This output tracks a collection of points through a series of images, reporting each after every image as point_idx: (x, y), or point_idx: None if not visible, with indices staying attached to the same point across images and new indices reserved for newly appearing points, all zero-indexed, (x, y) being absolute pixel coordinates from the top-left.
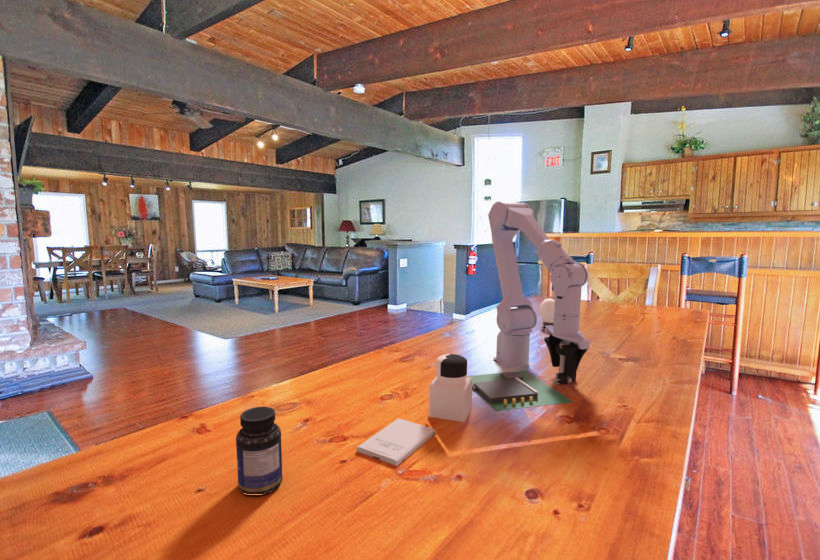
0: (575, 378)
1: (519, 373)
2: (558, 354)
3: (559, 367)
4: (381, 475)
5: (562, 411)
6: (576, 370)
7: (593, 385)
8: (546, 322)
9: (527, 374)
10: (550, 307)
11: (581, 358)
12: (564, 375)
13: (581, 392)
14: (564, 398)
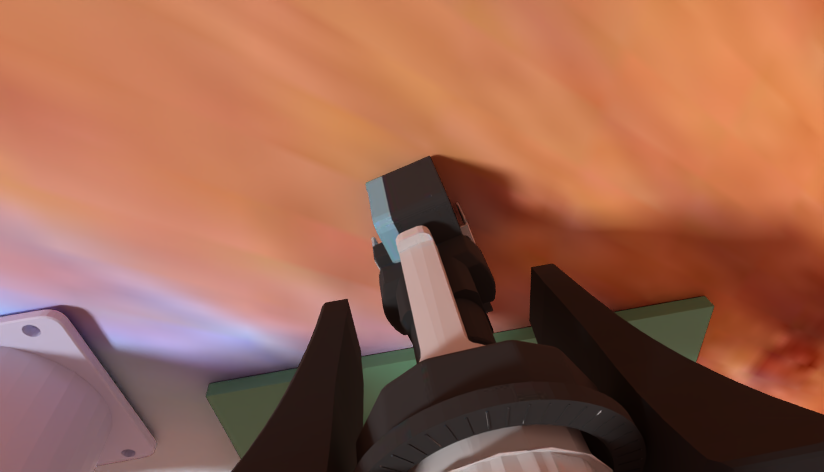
0: (438, 175)
1: (262, 427)
2: (350, 417)
3: (404, 334)
4: None
5: (730, 356)
6: (571, 281)
7: (497, 22)
8: None
9: (280, 397)
10: None
11: (675, 352)
12: (488, 303)
13: (588, 188)
14: (660, 330)
